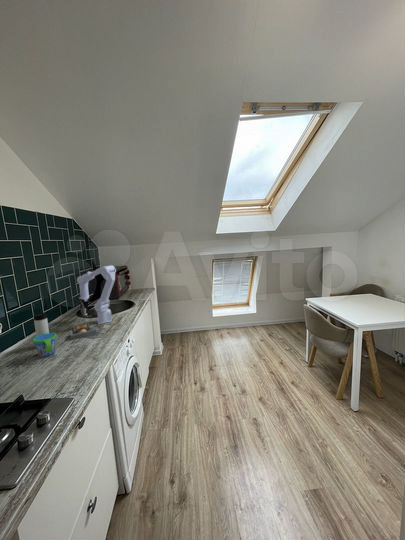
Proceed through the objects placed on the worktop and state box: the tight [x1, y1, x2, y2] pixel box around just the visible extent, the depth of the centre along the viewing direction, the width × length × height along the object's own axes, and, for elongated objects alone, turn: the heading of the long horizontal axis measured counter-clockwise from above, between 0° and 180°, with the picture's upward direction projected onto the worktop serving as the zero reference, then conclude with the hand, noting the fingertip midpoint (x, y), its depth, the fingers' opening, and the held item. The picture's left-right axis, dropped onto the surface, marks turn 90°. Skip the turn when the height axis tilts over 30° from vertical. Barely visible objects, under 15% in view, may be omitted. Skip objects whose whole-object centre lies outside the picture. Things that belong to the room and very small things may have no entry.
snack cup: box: [32, 332, 58, 358], centre depth 124 cm, size 16×10×10 cm
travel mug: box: [33, 312, 50, 337], centre depth 134 cm, size 6×7×20 cm
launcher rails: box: [72, 322, 92, 334], centre depth 160 cm, size 10×13×1 cm
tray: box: [69, 325, 97, 341], centre depth 149 cm, size 14×9×3 cm, turn 122°
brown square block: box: [76, 323, 89, 333], centre depth 155 cm, size 6×6×3 cm
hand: (86, 308), depth 176 cm, fingers closed
